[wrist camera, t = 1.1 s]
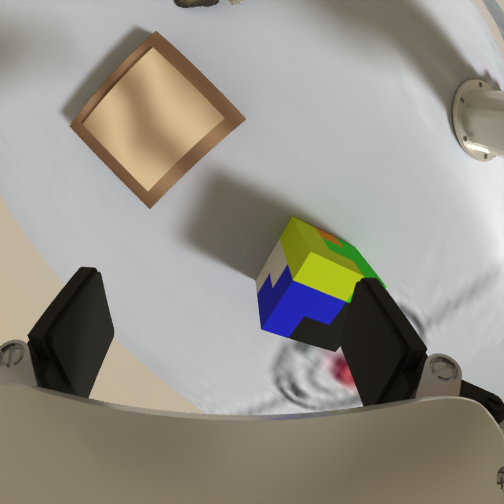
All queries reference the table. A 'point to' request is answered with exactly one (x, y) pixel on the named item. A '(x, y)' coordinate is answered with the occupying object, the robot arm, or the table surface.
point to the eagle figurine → (201, 3)
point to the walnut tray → (155, 119)
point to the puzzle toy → (309, 285)
